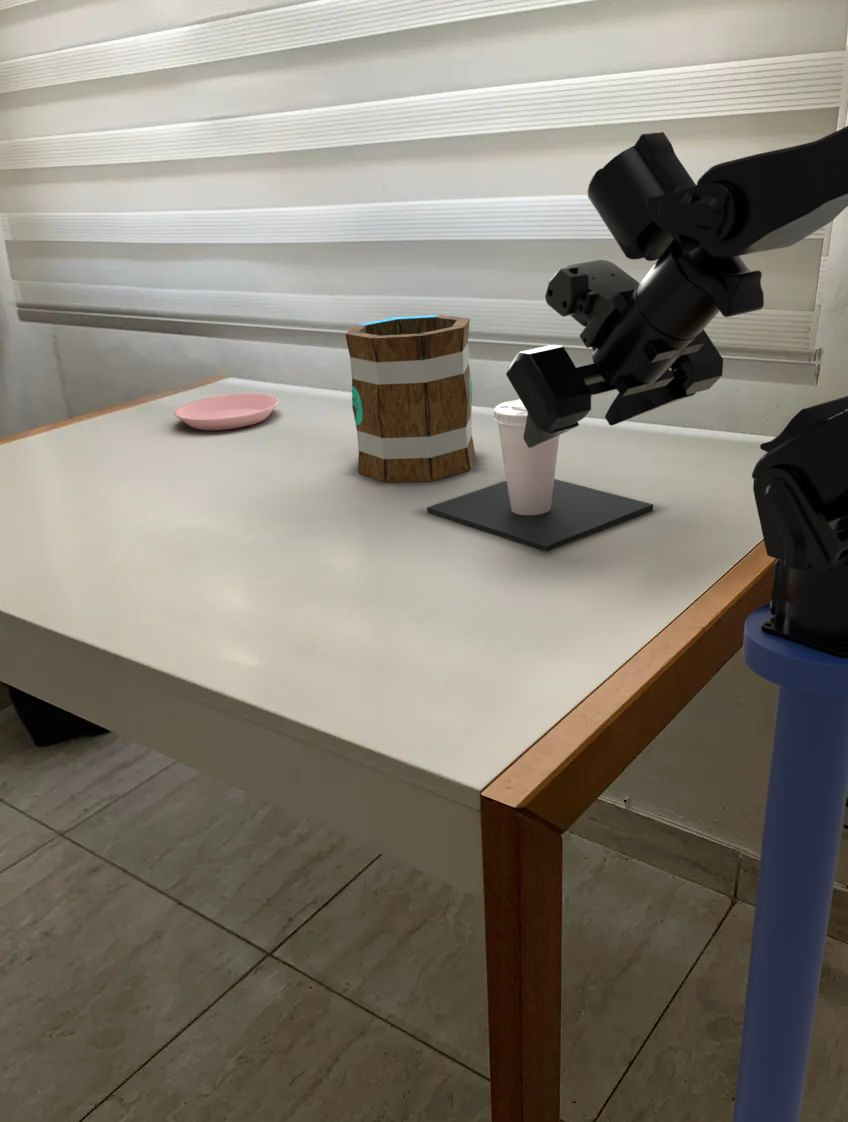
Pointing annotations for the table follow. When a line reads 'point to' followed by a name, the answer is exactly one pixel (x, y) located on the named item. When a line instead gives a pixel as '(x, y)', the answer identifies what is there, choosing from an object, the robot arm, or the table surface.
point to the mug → (412, 397)
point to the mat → (563, 523)
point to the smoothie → (525, 462)
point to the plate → (227, 411)
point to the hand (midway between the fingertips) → (569, 431)
